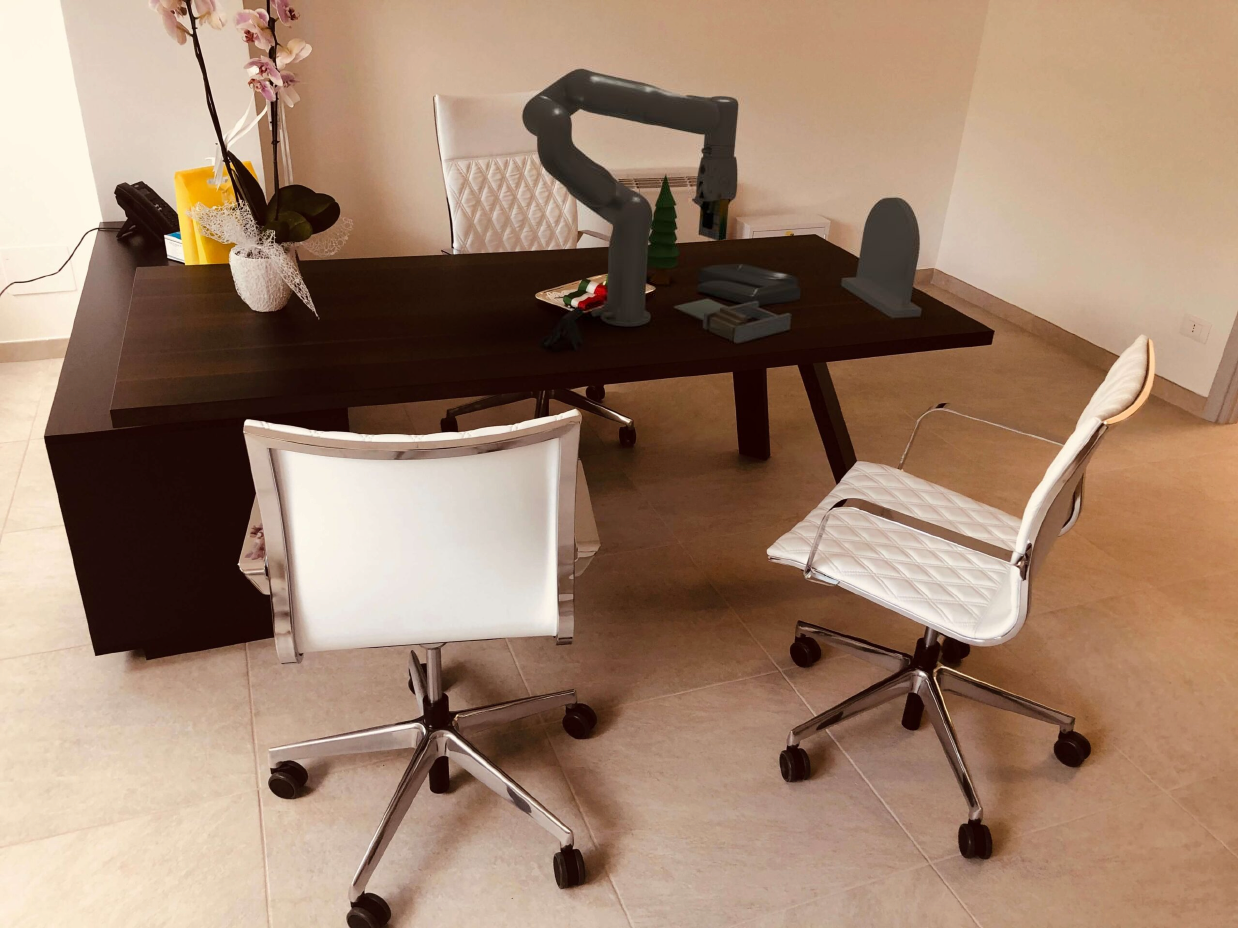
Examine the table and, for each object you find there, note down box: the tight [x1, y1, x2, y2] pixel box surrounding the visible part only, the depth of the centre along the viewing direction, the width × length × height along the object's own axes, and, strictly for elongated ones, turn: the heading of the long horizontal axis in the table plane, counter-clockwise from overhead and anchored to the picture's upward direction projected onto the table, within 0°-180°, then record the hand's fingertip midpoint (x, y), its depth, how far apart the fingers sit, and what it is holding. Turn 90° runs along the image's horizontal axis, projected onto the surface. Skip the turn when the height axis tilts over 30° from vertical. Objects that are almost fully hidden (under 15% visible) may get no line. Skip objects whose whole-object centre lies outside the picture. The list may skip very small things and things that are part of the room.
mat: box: [673, 298, 728, 321], centre depth 252 cm, size 12×12×1 cm
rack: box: [702, 301, 792, 344], centre depth 240 cm, size 18×12×4 cm
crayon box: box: [698, 193, 730, 242], centre depth 240 cm, size 7×3×12 cm, turn 38°
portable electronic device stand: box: [540, 306, 584, 351], centre depth 225 cm, size 9×8×8 cm
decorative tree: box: [647, 174, 680, 285], centre depth 266 cm, size 10×9×30 cm
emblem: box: [696, 263, 801, 307], centre depth 267 cm, size 28×5×28 cm
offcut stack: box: [708, 307, 748, 342], centre depth 236 cm, size 4×8×6 cm, turn 38°
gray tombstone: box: [840, 196, 922, 319], centre depth 258 cm, size 28×9×28 cm, turn 17°
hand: (712, 226), depth 242 cm, fingers closed on crayon box, 3 cm apart
